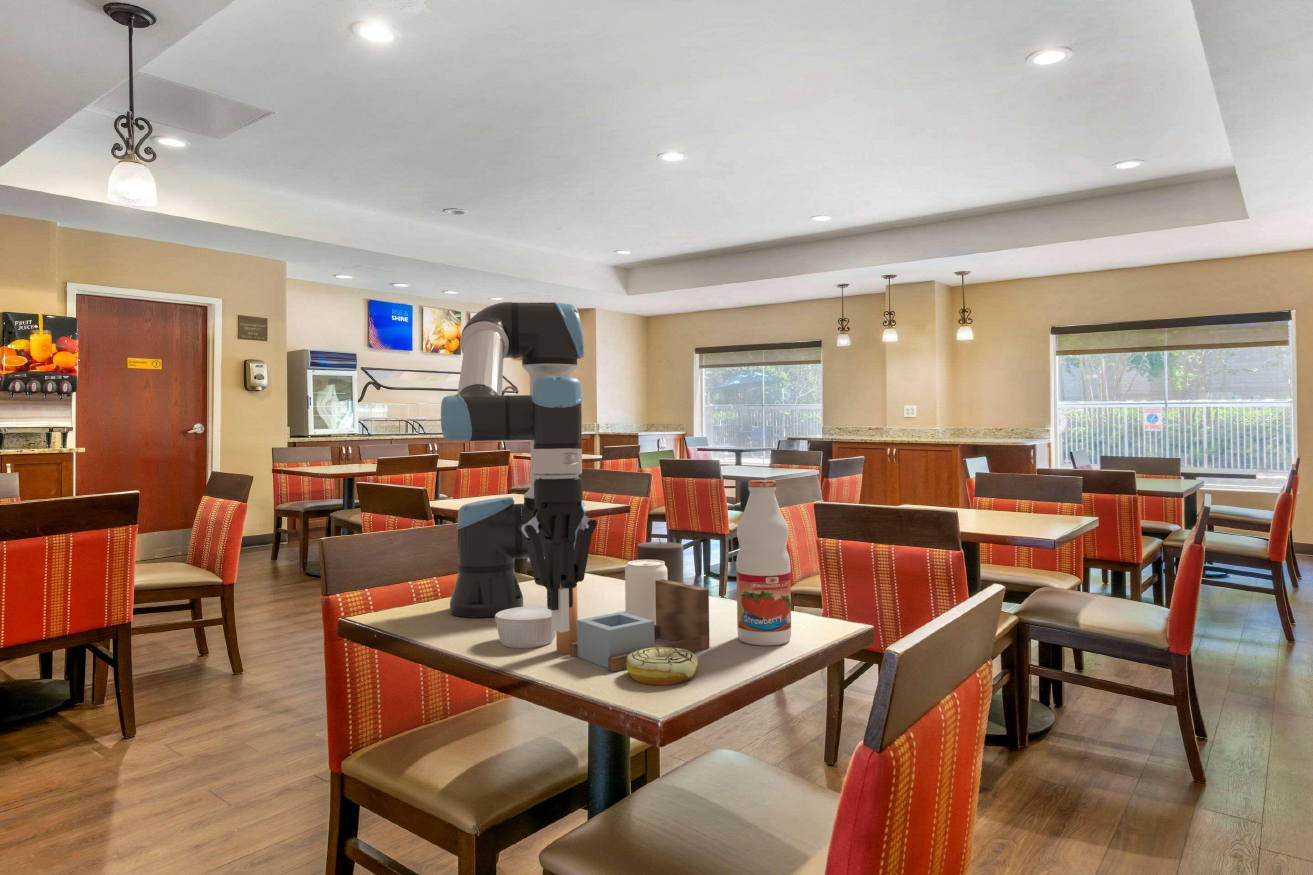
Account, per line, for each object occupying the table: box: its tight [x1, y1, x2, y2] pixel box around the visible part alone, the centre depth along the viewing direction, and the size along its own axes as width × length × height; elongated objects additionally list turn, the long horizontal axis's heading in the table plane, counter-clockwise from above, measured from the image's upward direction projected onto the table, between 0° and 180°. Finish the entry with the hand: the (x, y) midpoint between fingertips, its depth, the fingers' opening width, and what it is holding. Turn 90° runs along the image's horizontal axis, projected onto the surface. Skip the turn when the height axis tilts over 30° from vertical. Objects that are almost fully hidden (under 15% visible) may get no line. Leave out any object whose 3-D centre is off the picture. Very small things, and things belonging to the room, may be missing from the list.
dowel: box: [555, 584, 579, 655], centre depth 128 cm, size 4×4×12 cm
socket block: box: [577, 611, 656, 669], centre depth 124 cm, size 9×9×6 cm
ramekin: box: [494, 605, 556, 649], centre depth 134 cm, size 11×11×5 cm
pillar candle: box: [636, 537, 684, 584], centre depth 157 cm, size 10×10×15 cm
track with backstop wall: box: [569, 579, 711, 673], centre depth 127 cm, size 12×20×10 cm, turn 129°
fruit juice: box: [735, 479, 792, 647], centre depth 133 cm, size 9×9×28 cm
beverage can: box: [624, 559, 667, 625], centre depth 145 cm, size 8×8×12 cm
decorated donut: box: [626, 647, 699, 686], centre depth 114 cm, size 10×11×4 cm
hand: (560, 629), depth 117 cm, fingers closed
